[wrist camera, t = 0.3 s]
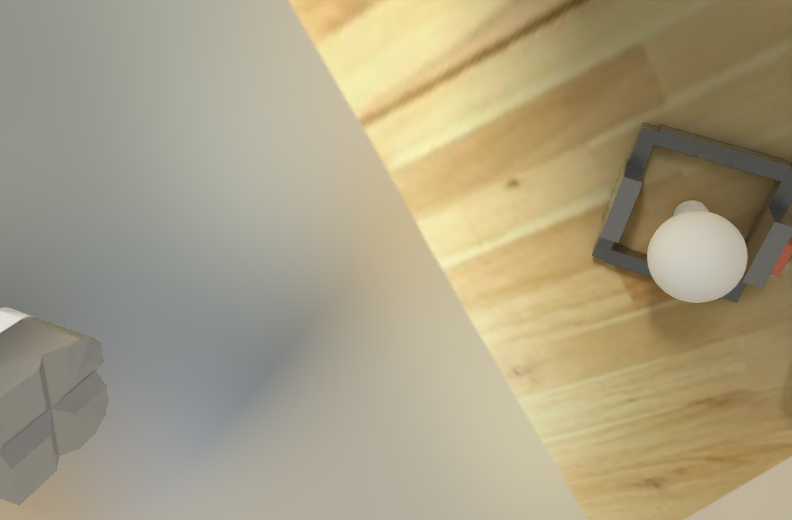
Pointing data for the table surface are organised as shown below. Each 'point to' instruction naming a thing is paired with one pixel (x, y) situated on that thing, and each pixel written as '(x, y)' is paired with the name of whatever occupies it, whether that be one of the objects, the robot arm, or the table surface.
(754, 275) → the frame
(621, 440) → the table surface
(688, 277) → the lightbulb
